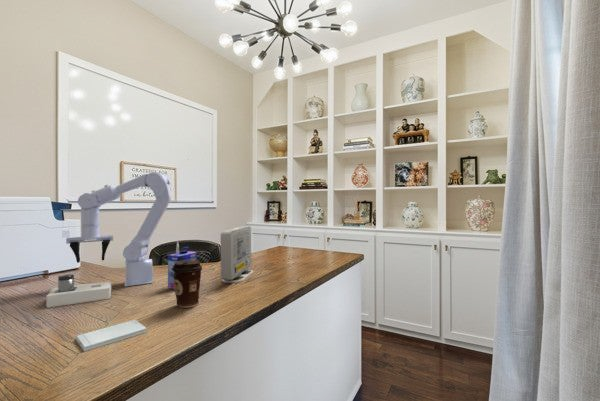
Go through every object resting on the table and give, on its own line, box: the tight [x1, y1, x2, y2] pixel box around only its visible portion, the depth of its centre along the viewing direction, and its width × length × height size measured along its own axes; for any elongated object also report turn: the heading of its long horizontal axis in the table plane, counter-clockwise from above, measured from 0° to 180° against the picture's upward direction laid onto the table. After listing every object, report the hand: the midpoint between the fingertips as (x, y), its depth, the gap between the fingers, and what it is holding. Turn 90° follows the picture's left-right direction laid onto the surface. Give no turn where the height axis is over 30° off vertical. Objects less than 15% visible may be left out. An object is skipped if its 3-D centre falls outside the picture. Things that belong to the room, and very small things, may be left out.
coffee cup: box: [172, 260, 203, 309], centre depth 91 cm, size 9×8×13 cm
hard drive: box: [75, 319, 148, 352], centre depth 70 cm, size 2×8×12 cm
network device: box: [220, 225, 254, 284], centre depth 124 cm, size 26×9×20 cm, turn 172°
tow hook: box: [175, 240, 180, 253], centre depth 148 cm, size 8×13×9 cm
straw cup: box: [167, 246, 198, 290], centre depth 112 cm, size 10×6×14 cm, turn 158°
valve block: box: [46, 280, 112, 309], centre depth 98 cm, size 16×10×4 cm, turn 120°
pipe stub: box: [57, 273, 75, 293], centre depth 96 cm, size 4×4×8 cm
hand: (90, 261), depth 113 cm, fingers open, 7 cm apart
